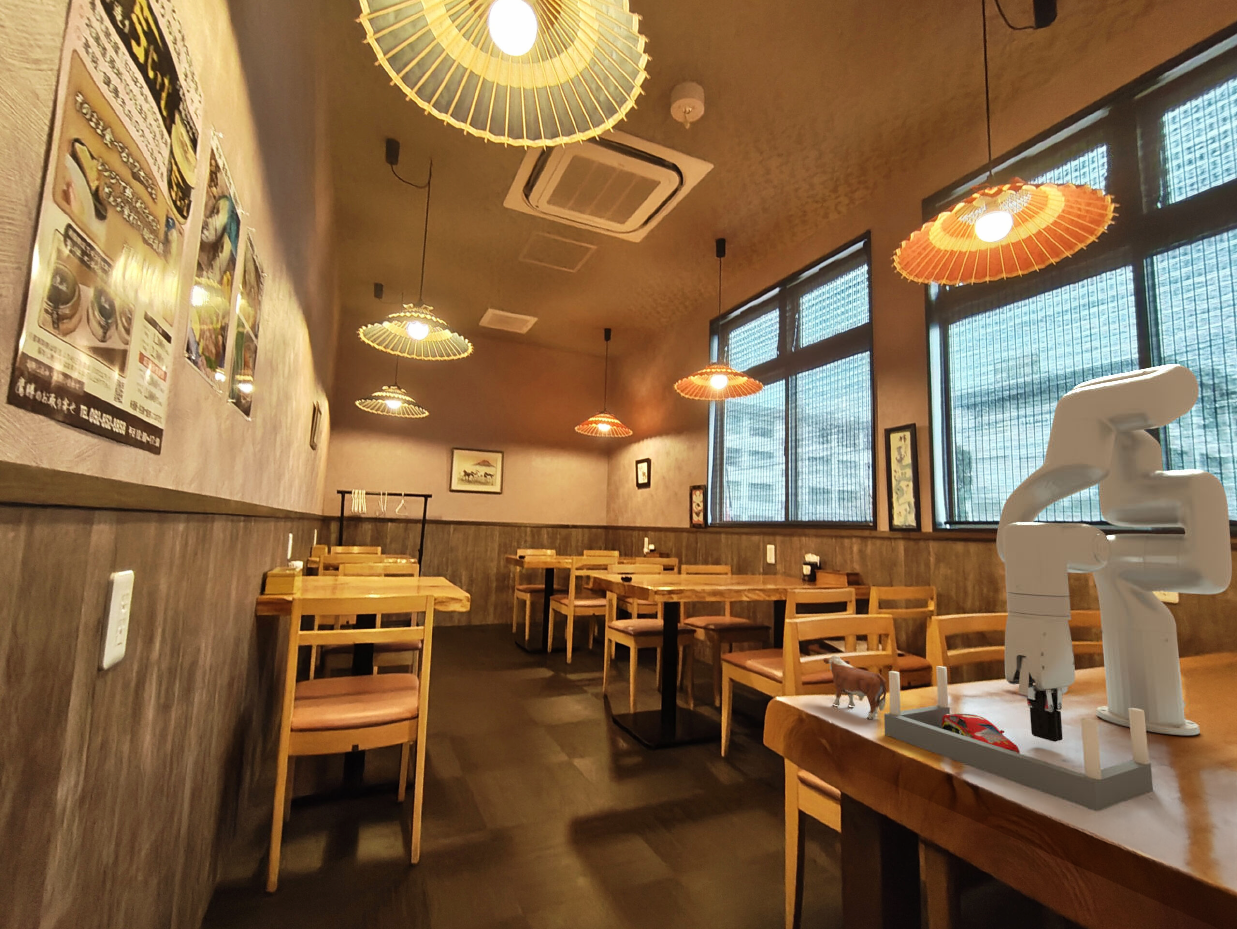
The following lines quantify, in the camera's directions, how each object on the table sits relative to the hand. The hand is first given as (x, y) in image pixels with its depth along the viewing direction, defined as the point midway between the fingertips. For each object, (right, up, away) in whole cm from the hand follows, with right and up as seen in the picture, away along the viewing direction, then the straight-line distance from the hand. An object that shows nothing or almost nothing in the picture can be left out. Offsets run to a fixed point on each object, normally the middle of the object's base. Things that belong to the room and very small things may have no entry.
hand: (1047, 737), depth 80 cm
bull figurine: (-21, -3, +16) cm, 27 cm away
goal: (-9, 0, -5) cm, 10 cm away
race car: (-10, -2, 0) cm, 10 cm away
